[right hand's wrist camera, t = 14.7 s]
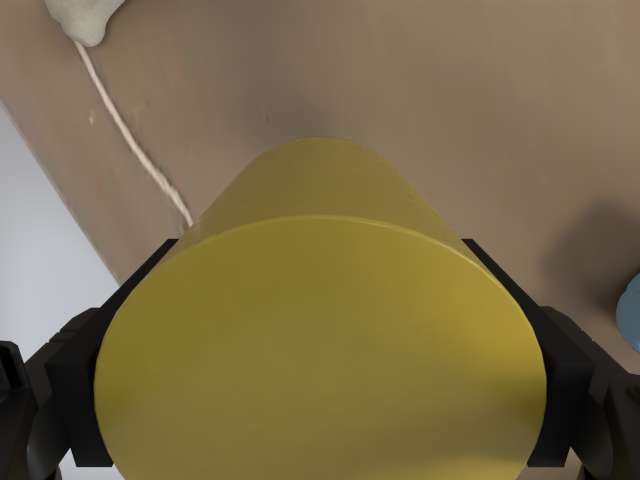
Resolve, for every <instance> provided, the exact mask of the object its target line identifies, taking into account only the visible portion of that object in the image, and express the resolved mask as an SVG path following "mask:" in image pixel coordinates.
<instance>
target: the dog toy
mask: <svg viewBox="0 0 640 480" xmlns="http://www.w3.org/2000/svg"><path fill="white" fill-rule="evenodd" d="M124 1H126V0H45V3H46V6H47V8H48V11H49V13H50V15H51V16H52V17H53V18H54V19H55V20H57V21H58V22H60V23H61V26H62V29H63V31H64V32H65V33H66V34H67V35H68V36H69V37H70V38H72V39H73V40H75V41H77V42H79V43H81V44H83V45H84V46H86V47H93V46H96V45H97V44H98V43H100V42H101V40H102V39H103V37H104V34H105V26H106V23H107V21H108V20H109V17H110V16H111V15H112V14H113V13H114V12H115V10H116V9H117V8H118V7H119V6H120V5H121V4H122V3H123V2H124Z"/></svg>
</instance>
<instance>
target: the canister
mask: <svg viewBox="0 0 640 480" xmlns="http://www.w3.org/2000/svg"><path fill="white" fill-rule="evenodd" d="M93 386H94V409H95V413H96V418H97V422H98V427H99V431H100V434H101V436H102V439H103V441H104V444H105V447H106V449H107V452H108V453H109V455H110V457H111V459H112V460H113V462H114V464H115V466H116V467H117V469H118V471H119V472H120V474H121V475H122V476H123V477H124V479H125V480H515V479H516V478H517V477H518V475H519V474H520V472H521V471H522V470H523V468H524V467H525V465H526V463H527V461H528V459H529V457H530V456H531V454H532V452H533V450H534V448H535V446H536V443H537V440H538V437H539V434H540V431H541V428H542V425H543V420H544V414H545V408H546V402H547V391H546V373H545V367H544V362H543V357H542V352H541V349H540V346H539V344H538V341H537V338H536V336H535V333H534V330H533V328H532V326H531V324H530V323H529V321H528V319H527V318H526V316H525V314H524V312H523V311H522V309H521V307H520V306H519V304H518V303H517V302H516V301H515V299H514V298H513V297H512V296H511V295H510V293H509V292H508V291H507V290H506V289H505V288H504V286H503V285H502V284H501V283H500V282H499V281H498V279H497V278H496V277H495V276H494V275H493V274H492V273H491V272H490V271H489V270H488V269H487V267H486V266H485V265H484V264H483V263H482V262H481V261H480V260H479V259H478V258H477V257H476V255H475V254H474V253H473V252H472V251H471V250H470V249H469V248H468V247H467V246H466V244H465V243H464V242H463V241H462V240H461V239H460V238H459V237H458V236H457V235H456V234H455V232H454V231H453V230H452V229H451V228H450V227H449V226H448V225H447V224H446V223H445V222H444V220H443V219H442V218H441V217H440V216H439V215H438V214H437V213H436V212H435V211H434V209H433V208H432V207H431V206H430V205H429V204H428V203H427V202H426V201H425V200H424V199H423V197H422V196H421V195H420V194H419V193H418V192H417V191H416V190H415V189H414V188H413V187H412V185H411V184H410V183H409V182H408V181H407V180H406V179H405V178H404V177H403V176H402V174H401V173H400V172H399V171H398V170H397V169H396V168H395V167H394V166H393V165H392V164H391V163H389V162H388V161H387V160H386V159H385V158H383V157H382V156H380V155H379V154H377V153H376V152H374V151H373V150H371V149H369V148H367V147H365V146H363V145H360V144H357V143H354V142H351V141H348V140H344V139H338V138H333V137H309V138H301V139H297V140H292V141H288V142H286V143H283V144H280V145H278V146H275V147H273V148H272V149H270V150H268V151H266V152H264V153H262V154H261V155H260V156H258V157H257V158H256V159H254V160H253V161H252V162H251V163H250V164H249V165H248V166H246V167H245V168H244V169H243V170H242V171H241V173H240V174H239V175H238V176H237V177H236V178H235V179H234V180H233V181H232V182H231V183H230V185H229V186H228V187H227V188H226V189H225V190H224V191H223V192H222V193H221V194H220V195H219V197H218V198H217V199H216V200H215V201H214V202H213V203H212V204H211V205H210V206H209V208H208V209H207V210H206V211H205V212H204V213H203V214H202V215H201V216H200V217H199V218H198V220H197V221H196V222H195V223H194V224H193V225H192V226H191V227H190V228H189V229H188V230H187V232H186V233H185V234H184V235H183V236H182V237H181V238H180V239H179V240H178V241H177V242H176V244H175V245H174V246H173V247H172V248H171V249H170V250H169V251H168V252H167V253H166V255H165V256H164V257H163V258H162V259H161V260H160V261H159V262H158V263H157V264H156V265H155V267H154V268H153V269H152V270H151V271H150V272H149V273H148V274H147V275H146V276H145V277H144V279H143V280H142V281H141V282H140V283H139V284H138V285H137V286H136V287H135V288H134V290H133V291H132V292H131V293H130V295H129V296H128V297H127V299H126V300H125V301H124V303H123V304H122V305H121V307H120V308H119V309H118V311H117V312H116V314H115V316H114V318H113V320H112V322H111V324H110V326H109V328H108V329H107V331H106V333H105V335H104V338H103V341H102V345H101V348H100V351H99V354H98V357H97V362H96V370H95V377H94V385H93Z"/></svg>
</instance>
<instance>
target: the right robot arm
mask: <svg viewBox="0 0 640 480" xmlns="http://www.w3.org/2000/svg"><path fill="white" fill-rule="evenodd" d="M178 240H179V239H168V240H167V241H166V242H165V243H164V244H163V245H162V246H161V247H160V248H159V249H158V250H157V251H156V252H155V253H154V254H153V255H152V256H151V257H150V258H149V259H148V260H147V261H146V262H145V263H144V264H143V265H142V266H141V267H140V268H139V269H138V270H137V271H136V272H135V273H134V274H133V275H132V276H131V277H130V278H129V279H128V280H127V281H126V282H125V283H124V284H123V285H122V286H121V287H120V288H119V289H118V290H117V291H116V292H115V293H114V294H113V295H112V296H111V297H110V298H109V299H108V300H107V301H106V302H105V303H104V304H103V305H102V306H101V307H100V308H90V309H88V310H86V311H84V312H82V313H81V314H79V315H77V316H75V317H73V318H72V319H71V320H70V321H69V322H68V323H67V324H66V325H65V326H63V327H62V328H61V329H60V332H57V333H56V334H55V335H54V336H53V337H52V338H51V339H50V340H49V343H45V344H44V345H43V346H42V347H41V348H40V349H39V350H38V351H37V352H36V353H35V354H34V355H33V356H32V357H30V358H29V359H28V360H27V361H26V362H25V363H24V362H23V360H22V356H21V353H20V351H19V348H18V345H16V344H14V343H13V342H11V341H0V480H62V476H61V471H60V468H59V465H58V464H59V463H60V462H61V460H62V459H63V457H64V456H65V454H66V453H67V451H68V450H69V449H70V448H71V451H72V454H73V458H74V461H75V464H76V467H112V465H113V464H114V462H113V460H112V459H111V457H110V455H109V453H108V452H107V449H106V447H105V444H104V441H103V439H102V436H101V434H100V431H99V427H98V422H97V418H96V413H95V409H94V386H93V385H94V377H95V370H96V362H97V357H98V354H99V351H100V348H101V345H102V341H103V338H104V335H105V333H106V331H107V329H108V328H109V326H110V324H111V322H112V320H113V318H114V316H115V314H116V312H117V311H118V309H119V308H120V307H121V305H122V304H123V303H124V301H125V300H126V299H127V297H128V296H129V295H130V293H131V292H132V291H133V290H134V288H135V287H136V286H137V285H138V284H139V283H140V282H141V281H142V280H143V279H144V277H145V276H146V275H147V274H148V273H149V272H150V271H151V270H152V269H153V268H154V267H155V265H156V264H157V263H158V262H159V261H160V260H161V259H162V258H163V257H164V256H165V255H166V253H167V252H168V251H169V250H170V249H171V248H172V247H173V246H174V245H175V244H176V242H177V241H178ZM461 240H462V241H463V242H464V243H465V244H466V246H467V247H468V248H469V249H470V250H471V251H472V252H473V253H474V254H475V255H476V257H477V258H478V259H479V260H480V261H481V262H482V263H483V264H484V265H485V266H486V267H487V269H488V270H489V271H490V272H491V273H492V274H493V275H494V276H495V277H496V278H497V279H498V281H499V282H500V283H501V284H502V285H503V286H504V288H505V289H506V290H507V291H508V292H509V293H510V295H511V296H512V297H513V298H514V299H515V301H516V302H517V303H518V304H519V306H520V307H521V309H522V311H523V312H524V314H525V316H526V318H527V319H528V321H529V323H530V324H531V326H532V328H533V330H534V333H535V336H536V338H537V341H538V344H539V346H540V349H541V352H542V357H543V362H544V367H545V373H546V391H547V402H546V408H545V414H544V420H543V425H542V428H541V431H540V434H539V437H538V440H537V443H536V446H535V448H534V450H533V452H532V454H531V456H530V457H529V459H528V461H527V465H528V467H564V465H565V462H566V458H567V455H568V452H569V449H570V446H571V448H572V449H573V450H574V452H575V453H576V455H577V456H578V458H579V459H580V460H581V462H582V465H581V468H580V471H579V474H578V477H577V479H576V480H640V375H636V374H630V373H628V372H627V371H626V370H625V369H624V368H623V367H622V366H620V365H619V364H618V363H617V362H616V361H615V360H614V359H613V358H612V357H611V356H610V355H609V354H608V353H607V352H605V351H604V350H603V349H602V348H601V347H600V346H599V345H598V344H597V343H596V342H595V341H592V338H590V337H589V336H588V335H587V334H586V333H585V332H584V331H581V328H580V327H579V326H578V325H576V324H575V323H574V322H573V321H572V320H571V319H570V318H569V317H568V316H566V315H564V314H562V313H561V312H559V311H557V310H555V309H553V308H552V307H550V306H538V305H537V304H536V303H535V302H534V301H533V300H532V299H531V298H530V297H529V296H528V295H527V294H526V293H525V292H524V291H523V290H522V289H521V288H520V287H519V286H518V285H517V284H516V283H515V282H514V281H513V280H512V279H511V278H510V277H509V276H508V275H507V274H506V273H505V272H504V271H503V270H502V269H501V268H500V267H499V265H498V264H497V263H496V262H495V261H494V260H493V259H492V258H491V257H490V256H489V255H488V254H487V253H486V252H485V251H484V250H483V249H482V248H481V247H480V246H479V245H478V244H477V243H476V242H475V241H474V240H473V239H461Z"/></svg>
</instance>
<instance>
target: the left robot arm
mask: <svg viewBox="0 0 640 480" xmlns="http://www.w3.org/2000/svg"><path fill="white" fill-rule="evenodd" d="M616 322H617V326H618V329H619V332H620V334H621V335H622V337H623V338H624V340H625V341H626V342H627V343H628V344H629V345H631V346H632V348H633V349H634V350H636V351H637V353H639V354H640V273H639V274H638V275H637V276H635V277H634V278H633V279H632V281H631V282H630V283H629V284H628V285H627V289H626V291H625V292H624V294H622V296H621V297H620V299H619V302H618V305H617V310H616Z"/></svg>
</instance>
